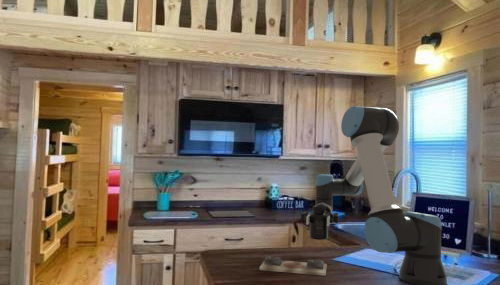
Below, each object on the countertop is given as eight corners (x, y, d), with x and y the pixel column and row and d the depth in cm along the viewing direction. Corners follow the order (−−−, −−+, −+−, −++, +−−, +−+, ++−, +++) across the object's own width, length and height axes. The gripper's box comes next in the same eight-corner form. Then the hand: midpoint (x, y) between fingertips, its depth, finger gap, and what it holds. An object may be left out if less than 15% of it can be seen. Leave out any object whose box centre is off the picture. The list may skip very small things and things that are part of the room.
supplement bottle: (330, 237, 149) (331, 206, 149) (323, 241, 143) (324, 208, 144) (313, 235, 153) (314, 204, 153) (306, 238, 147) (307, 206, 148)
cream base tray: (326, 266, 151) (326, 257, 151) (325, 275, 140) (325, 266, 140) (265, 261, 157) (265, 253, 157) (259, 269, 145) (259, 260, 145)
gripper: (346, 223, 163) (345, 233, 141) (298, 220, 168) (290, 230, 146) (346, 205, 163) (345, 212, 141) (299, 202, 168) (291, 209, 146)
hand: (317, 221), depth 144 cm, fingers closed on supplement bottle, 7 cm apart
